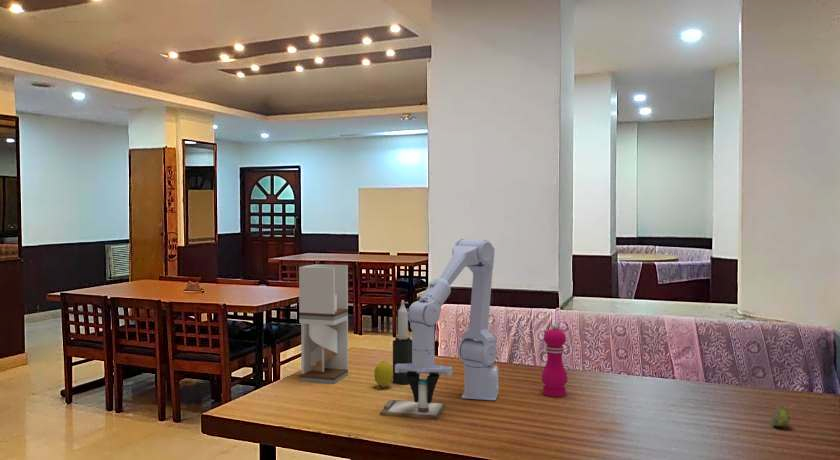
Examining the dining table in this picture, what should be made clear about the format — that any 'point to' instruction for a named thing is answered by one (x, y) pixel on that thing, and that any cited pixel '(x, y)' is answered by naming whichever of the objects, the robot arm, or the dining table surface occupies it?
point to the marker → (423, 395)
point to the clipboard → (411, 409)
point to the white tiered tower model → (323, 322)
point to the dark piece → (402, 346)
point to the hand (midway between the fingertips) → (423, 401)
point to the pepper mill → (554, 363)
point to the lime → (780, 417)
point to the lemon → (383, 374)
